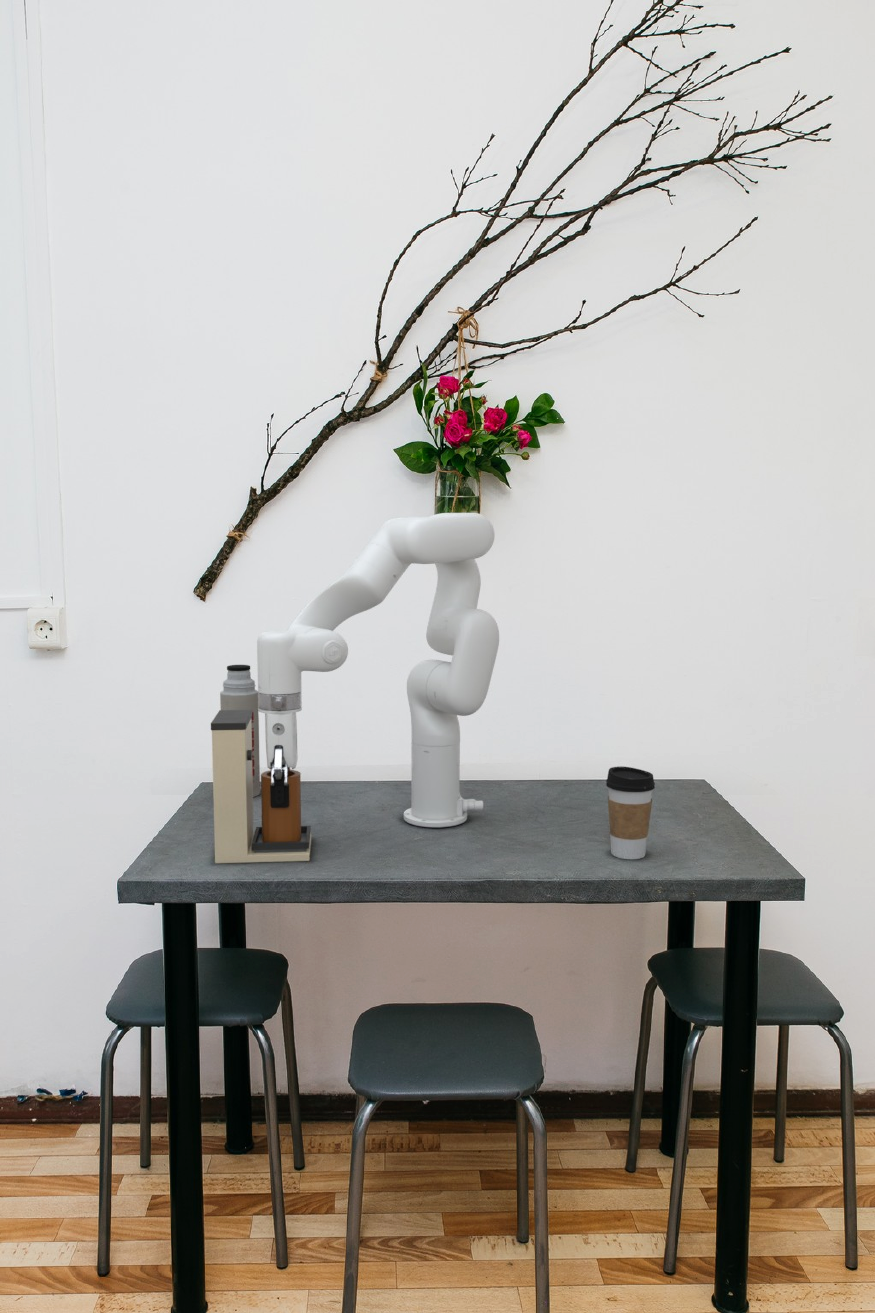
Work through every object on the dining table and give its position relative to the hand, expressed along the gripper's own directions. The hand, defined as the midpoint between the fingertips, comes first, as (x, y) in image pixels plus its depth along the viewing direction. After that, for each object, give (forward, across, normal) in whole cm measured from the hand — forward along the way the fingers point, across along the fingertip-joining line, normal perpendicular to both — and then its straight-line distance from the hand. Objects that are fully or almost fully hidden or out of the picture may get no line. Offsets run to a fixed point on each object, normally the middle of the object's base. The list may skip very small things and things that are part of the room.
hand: (281, 800), depth 175 cm
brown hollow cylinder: (+7, 0, 0) cm, 7 cm away
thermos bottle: (+9, +39, +11) cm, 42 cm away
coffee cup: (+9, -7, -61) cm, 62 cm away
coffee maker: (+9, 0, +3) cm, 10 cm away
